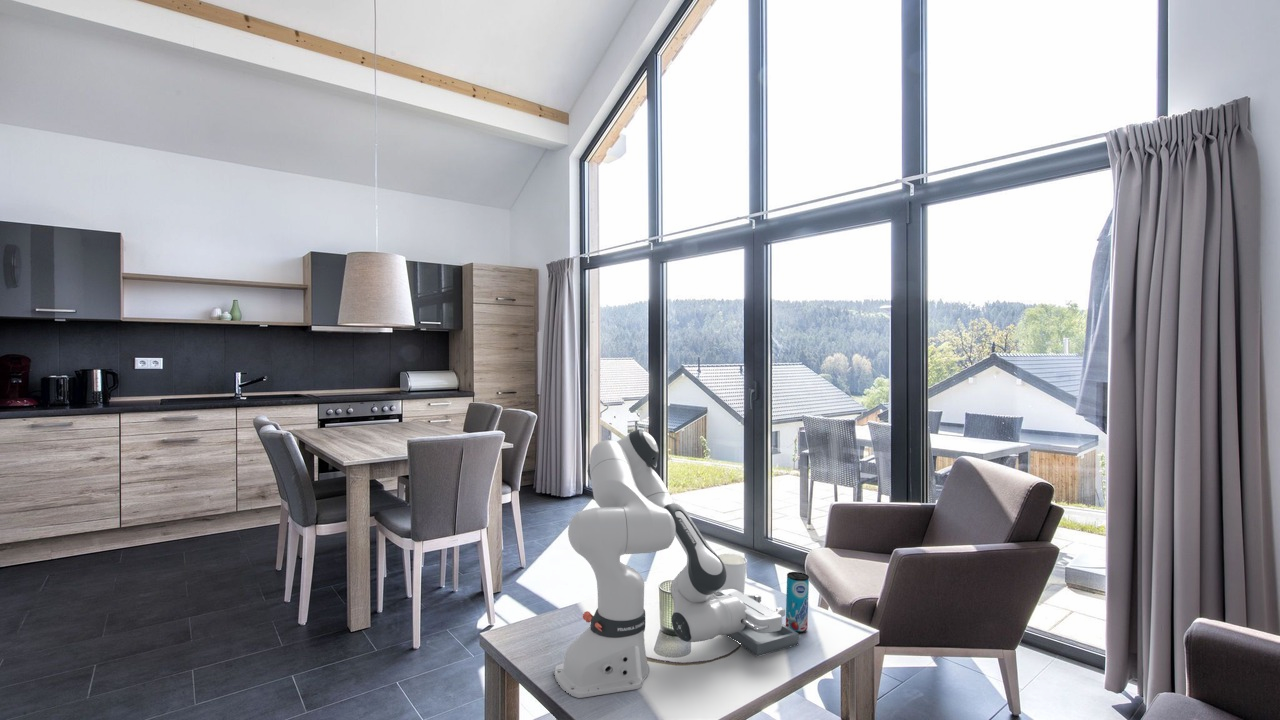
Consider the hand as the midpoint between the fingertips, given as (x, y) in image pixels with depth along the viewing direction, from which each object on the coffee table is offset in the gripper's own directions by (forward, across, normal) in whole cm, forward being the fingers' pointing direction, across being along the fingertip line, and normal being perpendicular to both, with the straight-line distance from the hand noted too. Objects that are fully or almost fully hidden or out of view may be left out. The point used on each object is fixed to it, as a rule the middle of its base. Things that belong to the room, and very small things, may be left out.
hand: (771, 604), depth 165 cm
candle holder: (+6, +26, +9) cm, 28 cm away
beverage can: (+9, 0, +9) cm, 13 cm away
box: (-4, 0, +8) cm, 9 cm away
